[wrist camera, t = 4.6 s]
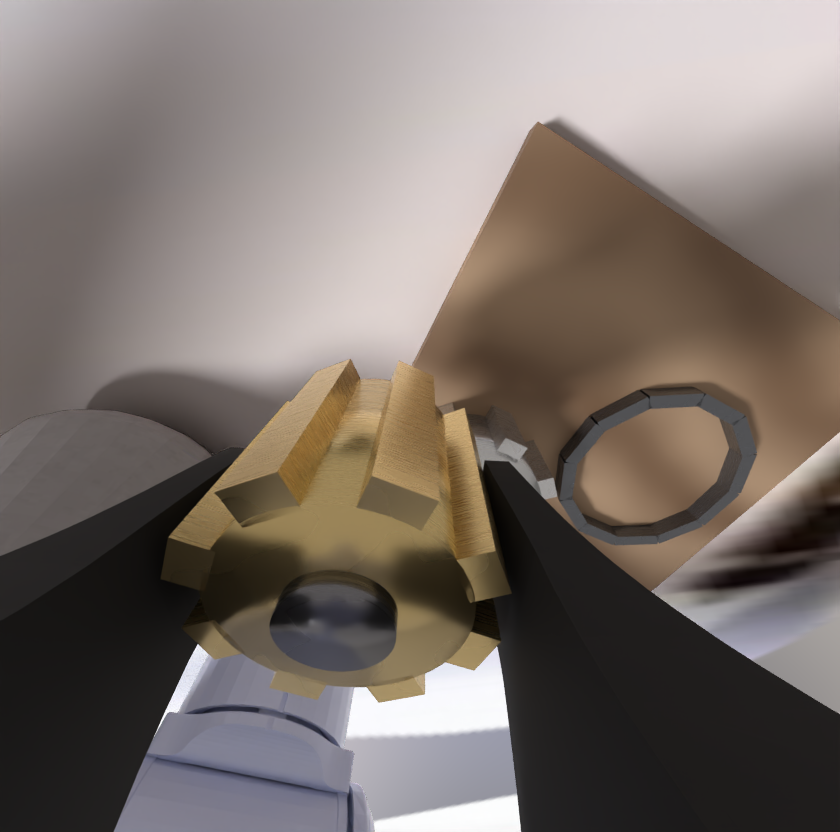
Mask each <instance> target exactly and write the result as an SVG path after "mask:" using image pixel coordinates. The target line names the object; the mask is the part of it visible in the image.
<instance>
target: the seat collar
mask: <svg viewBox="0 0 840 832" xmlns="http://www.w3.org/2000/svg"><path fill="white" fill-rule="evenodd" d="M680 407H699V408H701V409H703V410H705V411H707V412H709V413H711V414H712V415H714V416H716V417H718V418H719V419H720V422H721V425H722V428H723V431H724V434H725V437H726V440H727V443H728V446H729V450H728V452H727V455H726V458H725V460H724V463H723V466H722V468H721V471H720V474H719V476H718V479H717V482H716V483H715V484H714V485H712V486H711V487H710V488H709V489H708V490H707V491H706V492H705V493H704V494H703V495H702V496H701V497H699V498H698V499H697V500H696V501H695V502H694V503H693V504H692V505H691V506H690V507H689V508H688V509H686V510H683V511H681V512H679V513H676V514H674V515H671V516H669V517H666V518H664V519H662V520H659V521H657V522H654V523H652V524H649V525H623V526H611V525H608V524H606V523H604V522H601V521H599V520H597V519H594V518H592V517H590V516H587V515H585V514H583V513H581V511H580V509H579V508H578V506H577V504H576V503H575V501H574V499H573V498H572V496H573V489H574V483H575V476H576V470H577V464H578V463H579V462H580V461H581V459H582V458H583V457H584V456H585V455H586V453H587V452H588V451H589V450H590V449H591V447H592V446H593V445H594V444H595V443H596V442H597V440H598V439H599V438H600V437H601V436H602V434H603V433H604V432H605V431H607V430H609V429H611V428H613V427H615V426H617V425H619V424H621V423H623V422H625V421H627V420H629V419H631V418H633V417H635V416H637V415H639V414H641V413H643V412H645V411H647V410H649V409H660V408H680ZM590 415H591V417H590V416H588V417H587V418H586V419H585V421H584V422H583V423H582V424H581V426H580V427H579V428H578V430H577V431H576V432H575V433H574V435H573V436H572V437H571V438H570V440H569V441H568V442H567V443H566V445H565V446H564V447H563V448H562V450H561V451H560V453H561V454H559V457H558V465H557V473H556V481H555V487H556V492H557V497H558V499H559V501H560V503H561V504H562V506H563V508H564V509H565V511H566V512H567V514H568V516H569V517H570V519H571V520H572V522H573V524H574V525H575V527H576V528H577V530H578V531H580V532H583V533H585V534H587V535H590V536H592V537H594V538H597V539H599V540H602V541H604V542H606V543H609V544H611V545H613V544H614V545H645V544H657V543H659V544H660V543H662V542H665V541H667V540H670V539H672V538H675V537H678V536H680V535H683V534H685V533H688V532H690V531H693V530H695V529H698V528H700V527H703V526H702V524H703V525H706V524H707V523H708V522H709V521H710V520H711V519H713V518H714V517H715V516H716V515H717V514H718V513H719V512H721V511H722V510H723V509H724V508H725V507H726V506H727V505H729V504H730V503H731V502H732V501H733V500H734V499H735V498H737V497H738V496H739V494H738V493H741V492H742V489H743V487H744V485H745V482H746V480H747V477H748V475H749V473H750V470H751V468H752V465H753V463H754V461H755V458H756V456H757V454H756V453H757V450H756V447H755V444H754V440H753V437H752V434H751V430H750V427H749V424H748V420H747V417H746V416H745V415H744V414H742V413H740V412H739V411H737V410H735V409H733V408H731V407H730V406H728V405H726V404H724V403H722V402H721V401H719V400H717V399H715V398H713V397H711V396H710V395H708V394H706V393H704V392H702V391H701V390H699V389H697V388H695V387H692V386H690V387H671V388H652V389H640V391H639V390H636V391H635V392H633V393H631V394H629V395H627V396H625V397H623V398H621V399H619V400H617V401H615V402H613V403H611V404H609V405H607V406H605V407H603V408H601V409H600V410H598V411H596V412H594V413H592V414H590Z"/></svg>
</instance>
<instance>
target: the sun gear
mask: <svg viewBox="0 0 840 832" xmlns="http://www.w3.org/2000/svg"><path fill="white" fill-rule="evenodd" d="M438 408H439V409H440V411H441V412H442V413H443V415H444V414H447V413H450V412H453V411H455V408H454V405H453V402H452V403H449V404H445V405H442V406H439V407H438ZM467 416H468V419H469V422H470V425H471V428H472V431H473V434H474V436H475V440H476V444H477V449H478V453H479V457H480V461H481V465H482V470H483V467H484V460H490V461H509V462H510V463H511V464H512V465H513V466H514V467H515V468H516V469H517V470H518V472H519V473H520V474H521V475H522V476H523V477H524V478H525V479H526V480H527V481H528V482H529V483H530V484H531V485H532V486H533V488H534V489H535V490H536V491H537V492H538V493H539V494H540V495H541V496H542V497H543V498H544V499H549V498H553V497H557V492H556V487H555V483H554V478H553V476H552V474H551V472H550V470H549V468H548V466H547V465H546V463H545V461H544V459H543V457H542V455H541V453H540V451H539V449H538V447H537V446H536V444H535V442H534V440H531V441H528V442H525V441H524V439H523V437H522V435H521V433H520V431H519V429H518V427H517V425H516V422H515V420H514V418H513V416H512V414H511V413H509V412H506V411H504V410H502V409H500V408H498V407H496V406H494V405H492V407H491V408H490V410H489V411H488V413H487V415H486V416H482V415H477V414H467Z"/></svg>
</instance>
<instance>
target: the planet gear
mask: <svg viewBox="0 0 840 832" xmlns="http://www.w3.org/2000/svg"><path fill="white" fill-rule="evenodd" d="M161 579H162V580H166V581H169V582H173V583H176V584H180V585H183V586H186V587H190V588H193V589H197V590H199V595H200V599H199V601H198V603H197V604H196V606H195V607H194V609H193V610H192V612H191V614H190V615H189V617H188V618H187V620H186V621H185V623H184V625H183V626H182V629H183V630H184V631H185V632H186V633H187V634H188V635H189V636H190V637H191V638H192V639H193V640H194V641H195V642H197V643H198V644H199V645H200V646H201V647H202V648H203V649H204V650H205V651H206V652H207V653H208V654H209V655H210V656H211V657H212V658H213V659H214V660H216V659H220V658H225V657H229V656H233V655H238V654H243V655H245V656H246V657H248V658H250V659H251V660H253V661H255V662H256V663H258V664H260V665H262V666H264V667H266V668H268V669H270V670H273V671H275V673H274V676H273V678H272V681H271V684H270V687H269V688H272V689H276V690H280V691H284V692H288V693H292V694H296V695H299V696H303V697H307V698H311V699H315V700H318V698H319V696H320V695H321V693H322V692H323V690H324V688H325V687H326V685H329V686H339V687H367V688H368V689H369V691H370V692H371V693H372V695H373V696H374V697H375V698H376V700H377V701H378V702H385V701H391V700H396V699H402V698H407V697H413V696H418V695H424V694H425V673H427V672H429V671H431V670H433V669H435V668H437V667H438V666H440V665H442V664H443V663H444V662H447V663H450V664H453V665H457V666H460V667H464V668H467V669H471V670H475V669H476V668H477V667H478V666H479V665H480V664H481V663H482V662H483V660H484V659H485V658H486V657H487V656H488V655H489V654H490V653H491V652H492V651H493V650H494V649H495V648H496V646H497V645H498V644H499V643H500V642H501V637H500V632H499V626H498V621H497V615H496V610H495V605H494V599H493V598H494V597H498V596H503V595H507V594H512V591H511V587H510V583H509V579H508V574H507V570H506V566H505V562H504V558H503V553H502V549H501V545H500V541H499V537H498V532H497V528H496V524H495V520H494V516H493V511H492V507H491V503H490V499H489V495H488V490H487V486H486V482H485V478H484V474H483V470H482V465H481V461H480V457H479V453H478V449H477V444H476V440H475V436H474V434H473V431H472V428H471V425H470V422H469V419H468V416H467V414H466V411H465V408H463V409H460V410H457V411H453V412H450V413H447V414H444V415H443V413H442V412H441V411H440V409H439V408H438V407H437V406H436V405H435V389H434V376H433V375H430V374H428V373H426V372H423V371H421V370H419V369H417V368H414V367H412V366H410V365H408V364H405V363H403V362H401V361H399V362H398V364H397V367H396V369H395V371H394V373H393V376H392V378H391V380H390V381H389V380H382V379H361V380H360V377H359V375H358V373H357V371H356V369H355V367H354V365H353V363H352V361H351V359H349V360H346V361H343V362H341V363H338V364H335V365H332V366H330V367H327V368H324V369H322V370H319V371H316V373H315V374H314V375H313V376H312V377H311V378H310V380H309V381H308V382H307V383H306V384H305V386H304V387H303V388H302V389H301V390H300V391H299V393H298V394H297V395H296V396H295V397H294V399H293V400H292V401H291V402H289V401H287V402H286V403H285V404H284V405H283V406H282V407H281V409H280V410H279V411H278V412H277V413H276V414H275V416H274V417H273V418H272V419H271V420H270V421H269V422H268V424H267V425H266V426H265V427H264V428H263V429H262V430H261V432H260V433H259V434H258V435H257V436H256V437H255V438H254V440H253V441H252V442H251V443H250V444H249V445H248V446H247V448H246V449H245V450H244V451H243V452H242V453H241V454H240V456H239V457H238V458H237V459H236V460H235V461H234V462H233V464H232V465H231V466H230V467H229V468H228V469H227V470H226V472H225V473H224V474H223V475H222V476H221V477H220V478H219V480H218V481H217V482H216V483H215V484H214V485H213V486H212V488H211V489H210V490H209V491H208V492H207V493H206V494H205V496H204V497H203V498H202V499H201V500H200V501H199V502H198V504H197V505H196V506H195V507H194V508H193V509H192V510H191V512H190V513H189V514H188V515H187V516H186V517H185V518H184V520H183V521H182V522H181V523H180V524H179V525H178V526H177V528H176V529H175V530H174V531H173V532H172V533H171V534H170V536H169V537H168V540H167V546H166V551H165V557H164V563H163V568H162V574H161Z"/></svg>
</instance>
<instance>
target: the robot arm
mask: <svg viewBox="0 0 840 832" xmlns="http://www.w3.org/2000/svg"><path fill="white" fill-rule="evenodd" d="M245 449H246V448H229V449H226V450H224V451H222V452H219V453H217V454H215V455H213V456H211V457H209V458H207V459H205V460H203V461H201V462H199V463H197V464H195V465H193V466H191V467H190V468H188V469H186V470H184V471H182V472H180V473H178V474H176V475H174V476H172V477H170V478H168V479H166V480H164V481H163V482H161V483H159V484H157V485H155V486H153V487H151V488H149V489H147V490H145V491H143V492H141V493H139V494H137V495H135V496H133V497H131V498H129V499H127V500H125V501H123V502H121V503H119V504H117V505H115V506H112V507H110V508H108V509H106V510H104V511H102V512H100V513H98V514H96V515H94V516H92V517H90V518H88V519H86V520H83V521H81V522H79V523H77V524H75V525H72V526H70V527H68V528H66V529H63V530H61V531H59V532H57V533H54V534H52V535H50V536H48V537H45V538H43V539H40V540H38V541H35V542H33V543H31V544H28V545H26V546H23V547H21V548H19V549H16V550H14V551H11V552H9V553H6V554H4V555H1V556H0V832H375V830H374V822H373V817H372V814H371V811H370V808H369V806H368V803H367V799H366V795H365V793H364V790H363V787H362V786H361V785H360V784H358V783H353V782H350V779H351V772H352V765H353V758H354V752H353V751H349V750H346V749H344V744H345V739H346V733H347V727H348V721H349V715H350V709H351V703H352V696H353V690H354V687H339V686H329V685H326V687H325V688H324V690H323V692H322V693H321V695H320V696H319V698H318V700H315V699H311V698H307V697H303V696H299V695H296V694H292V693H288V692H284V691H280V690H276V689H272V688H269V687H270V684H271V681H272V678H273V676H274V673H275V671H273V670H270V669H268V668H266V667H264V666H262V665H260V664H258V663H256V662H255V661H253V660H251V659H250V658H248V657H246V656H245V655H243V654H238V655H233V656H229V657H225V658H220V659H216V660H214V659H213V658H212V657H211V656H210V655H208V656H207V658H206V660H205V662H204V664H203V666H202V668H201V670H200V672H199V673H198V675H197V677H196V679H195V681H194V683H193V685H192V687H191V688H190V690H189V692H188V694H187V696H186V698H185V700H184V702H183V704H182V705H181V707H180V709H179V711H178V713H174V712H169V713H167V715H166V717H165V718H164V720H163V722H162V724H161V726H160V728H159V729H158V731H157V728H158V726H159V724H160V722H161V719H162V717H163V715H164V712H165V710H166V708H167V706H168V704H169V702H170V700H171V697H172V695H173V693H174V691H175V689H176V687H177V685H178V682H179V680H180V678H181V676H182V674H183V672H184V670H185V667H186V665H187V663H188V661H189V659H190V657H191V655H192V654H193V652H194V650H195V648H196V646H197V644H198V643H197V642H195V641H194V640H193V639H192V638H191V637H190V636H189V635H188V634H187V633H186V632H185V631H184V630H183V629H182V626H183V625H184V623H185V621H186V620H187V618H188V617H189V615H190V614H191V612H192V610H193V609H194V607H195V606H196V604H197V603H198V601H199V599H200V595H199V590H197V589H193V588H190V587H186V586H183V585H180V584H176V583H173V582H169V581H166V580H162V579H161V574H162V568H163V563H164V557H165V551H166V546H167V540H168V537H169V536H170V534H171V533H172V532H173V531H174V530H175V529H176V528H177V526H178V525H179V524H180V523H181V522H182V521H183V520H184V518H185V517H186V516H187V515H188V514H189V513H190V512H191V510H192V509H193V508H194V507H195V506H196V505H197V504H198V502H199V501H200V500H201V499H202V498H203V497H204V496H205V494H206V493H207V492H208V491H209V490H210V489H211V488H212V486H213V485H214V484H215V483H216V482H217V481H218V480H219V478H220V477H221V476H222V475H223V474H224V473H225V472H226V470H227V469H228V468H229V467H230V466H231V465H232V464H233V462H234V461H235V460H236V459H237V458H238V457H239V456H240V454H241V453H242V452H243V451H244V450H245ZM483 474H484V478H485V482H486V486H487V490H488V495H489V499H490V503H491V507H492V511H493V516H494V520H495V524H496V528H497V532H498V537H499V541H500V545H501V549H502V553H503V558H504V562H505V566H506V570H507V574H508V579H509V583H510V587H511V591H512V594H507V595H503V596H498V597H494V598H493V599H494V605H495V610H496V615H497V621H498V626H499V632H500V637H501V642H500V643H499V644H498V645H497V647H498V652H499V657H500V663H501V668H502V674H503V681H504V688H505V696H506V704H507V712H508V719H509V727H510V736H511V744H512V752H513V761H514V770H515V778H516V787H517V796H518V805H519V815H520V824H521V832H840V714H839V713H837V712H835V711H833V710H831V709H830V708H828V707H827V706H825V705H823V704H822V703H820V702H818V701H816V700H815V699H813V698H812V697H810V696H808V695H807V694H805V693H803V692H802V691H800V690H798V689H797V688H795V687H793V686H792V685H790V684H789V683H787V682H785V681H784V680H782V679H781V678H779V677H777V676H776V675H774V674H772V673H771V672H769V671H768V670H766V669H764V668H763V667H761V666H760V665H758V664H756V663H755V662H753V661H752V660H750V659H749V658H747V657H745V656H744V655H742V654H741V653H739V652H738V651H736V650H735V649H733V648H731V647H730V646H728V645H727V644H725V643H724V642H722V641H721V640H719V639H718V638H716V637H715V636H713V635H712V634H710V633H709V632H707V631H706V630H705V629H703V628H702V627H700V626H699V625H697V624H696V623H694V622H693V621H691V620H690V619H689V618H687V617H686V616H684V615H683V614H681V613H680V612H678V611H677V610H676V609H674V608H673V607H671V606H670V605H669V604H667V603H666V602H664V601H663V600H662V599H660V598H659V597H658V596H656V595H655V594H653V593H652V592H651V591H649V590H648V589H647V588H645V587H644V586H643V585H642V584H640V583H639V582H638V581H637V580H635V579H634V578H633V577H631V576H630V575H629V574H628V573H626V572H625V571H624V570H622V569H621V568H620V567H619V566H617V565H616V564H615V563H614V562H612V561H611V560H610V559H609V558H608V557H606V556H605V555H604V554H603V553H602V552H600V551H599V550H598V549H597V548H596V547H595V546H594V545H593V544H591V543H590V542H589V541H588V540H587V539H586V538H585V537H584V536H582V535H581V534H580V533H579V532H578V531H577V530H576V529H575V528H574V527H573V526H572V525H570V524H569V523H568V522H567V521H566V520H565V519H564V518H563V517H562V516H561V515H560V514H559V513H558V512H557V511H556V510H555V509H554V508H553V507H552V506H551V505H550V504H549V503H548V502H547V501H546V500H545V499H544V498H543V497H542V496H541V495H540V494H539V493H538V492H537V491H536V490H535V489H534V488H533V486H532V485H531V484H530V483H529V482H528V481H527V480H526V479H525V478H524V477H523V476H522V475H521V474H520V473H519V472H518V470H517V469H516V468H515V467H514V466H513V465H512V464H511V463H510V462H509V461H490V460H484V467H483ZM156 731H157V733H156ZM155 733H156V735H155ZM154 735H155V737H154ZM153 737H154V738H153Z"/></svg>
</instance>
